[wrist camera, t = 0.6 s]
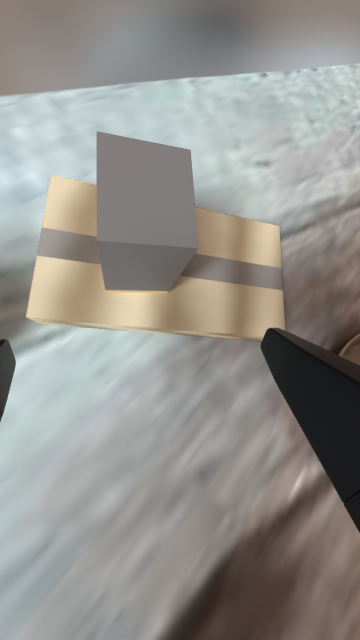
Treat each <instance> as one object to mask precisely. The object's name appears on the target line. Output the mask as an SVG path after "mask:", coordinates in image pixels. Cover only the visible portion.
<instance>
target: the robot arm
mask: <svg viewBox="0 0 360 640" xmlns="http://www.w3.org/2000/svg"><path fill="white" fill-rule="evenodd" d="M261 350H262V353H263V355H264V357H265V359H266V362H267V364H268V366H269V368H270V371H271V373H272V375H273V378H274V380H275V382H276V384H277V386H278V387H279V389H280V391H281V393H282V395H283V396H284V398H285V400H286V402H287V403H288V405H289V407H290V409H291V411H292V412H293V414H294V416H295V418H296V420H297V421H298V423H299V425H300V427H301V428H302V430H303V432H304V434H305V436H306V437H307V439H308V441H309V443H310V445H311V446H312V448H313V450H314V452H315V453H316V455H317V457H318V459H319V461H320V462H321V464H322V466H323V468H324V470H325V471H326V473H327V475H328V477H329V478H330V480H331V482H332V484H333V486H334V487H335V489H336V491H337V493H338V495H339V496H340V498H341V500H342V502H343V503H344V506H345V507H346V509H347V511H348V513H349V515H350V516H351V518H352V520H353V522H354V524H355V525H356V527H357V529H358V531H359V533H360V365H358V364H356V363H354V362H352V361H350V360H347V359H345V358H343V357H341V356H339V355H337V354H334V353H332V352H330V351H328V350H326V349H324V348H321V347H319V346H317V345H315V344H313V343H311V342H308V341H306V340H304V339H302V338H300V337H298V336H296V335H293V334H291V333H289V332H287V331H285V330H283V329H280V328H268V329H267V330H266V332H265V335H264V337H263V340H262V342H261ZM15 365H16V361H15V357H14V354H13V351H12V349H11V346H10V343H9V341H8V340H6V339H0V421H1V418H2V415H3V413H4V409H5V406H6V402H7V398H8V394H9V390H10V386H11V382H12V378H13V374H14V370H15Z"/></svg>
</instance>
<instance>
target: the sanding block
mask: <svg viewBox="0 0 360 640" xmlns="http://www.w3.org/2000/svg"><path fill="white" fill-rule="evenodd" d="M97 245H98V251H99V257H100V263H101V268H102V274H103V280H104V286H105V292H117V293H168V291H169V290H170V288H171V287H172V285H173V284H174V283H175V281H176V280H177V278H178V277H179V276H180V274H181V273H182V271H183V270H184V268H185V267H186V266H187V264H188V263H189V261H190V260H191V258H192V257H193V256H194V254H195V253H196V251H197V250H198V248H199V246H198V234H197V222H196V210H195V198H194V186H193V174H192V162H191V150H188V149H183V148H178V147H173V146H168V145H163V144H158V143H153V142H148V141H143V140H138V139H133V138H128V137H123V136H118V135H113V134H108V133H102V132H97Z"/></svg>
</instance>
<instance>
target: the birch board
mask: <svg viewBox="0 0 360 640" xmlns="http://www.w3.org/2000/svg"><path fill="white" fill-rule="evenodd" d="M195 210H196V222H197V234H198V246H199V248H198V250H197V251H196V253H195V254H194V256H193V257H192V258H191V260H190V261H189V263H188V264H187V266H186V267H185V268H184V270H183V271H182V273H181V274H180V276H179V277H178V278H177V280H176V281H175V283H174V284H173V285H172V287H171V288H170V290H169V291H168V293H117V292H105V286H104V280H103V274H102V268H101V263H100V257H99V251H98V245H97V185H94V184H89V183H85V182H80V181H76V180H72V179H67V178H63V177H58V176H54V175H51V179H50V184H49V190H48V196H47V201H46V207H45V212H44V218H43V224H42V229H41V235H40V241H39V246H38V252H37V257H36V263H35V269H34V274H33V280H32V285H31V291H30V297H29V302H28V308H27V314H26V318H28V319H30V320H32V321H34V322H36V323H38V324H45V325H58V326H71V327H85V328H98V329H112V330H125V331H138V332H152V333H165V334H179V335H192V336H205V337H219V338H232V339H246V340H259V341H262V340H263V337H264V335H265V332H266V330H267V329H268V328H280V329H283V330H285V319H284V301H283V283H282V265H281V246H280V228H279V226H276V225H272V224H267V223H263V222H259V221H254V220H250V219H245V218H241V217H236V216H232V215H227V214H223V213H218V212H214V211H210V210H205V209H201V208H196V207H195Z"/></svg>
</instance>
